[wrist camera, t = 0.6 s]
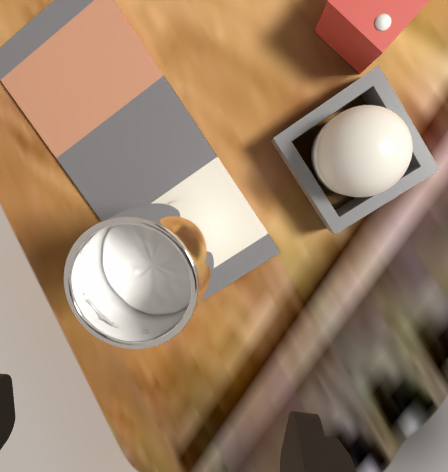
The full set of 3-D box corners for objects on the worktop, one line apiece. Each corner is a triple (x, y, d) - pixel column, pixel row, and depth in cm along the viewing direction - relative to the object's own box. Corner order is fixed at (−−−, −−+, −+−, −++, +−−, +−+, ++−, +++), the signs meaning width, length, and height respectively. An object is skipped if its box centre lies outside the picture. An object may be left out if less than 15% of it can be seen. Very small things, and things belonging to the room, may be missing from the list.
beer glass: (204, 180, 30) (160, 186, 15) (238, 251, 31) (227, 321, 16) (135, 214, 31) (32, 250, 16) (170, 282, 32) (102, 374, 17)
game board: (94, -30, 28) (92, -33, 28) (280, 251, 31) (280, 252, 31) (-11, 61, 30) (-15, 59, 30) (172, 317, 33) (171, 319, 33)
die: (359, -24, 27) (384, -69, 22) (406, 21, 27) (441, -13, 22) (314, 31, 28) (327, -1, 23) (359, 73, 28) (383, 52, 23)
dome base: (365, 76, 28) (378, 65, 25) (420, 170, 29) (440, 169, 26) (271, 141, 30) (273, 137, 27) (326, 228, 30) (334, 234, 27)
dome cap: (364, 96, 27) (398, 73, 21) (405, 165, 28) (450, 163, 21) (294, 144, 28) (306, 135, 22) (335, 209, 29) (358, 219, 23)
